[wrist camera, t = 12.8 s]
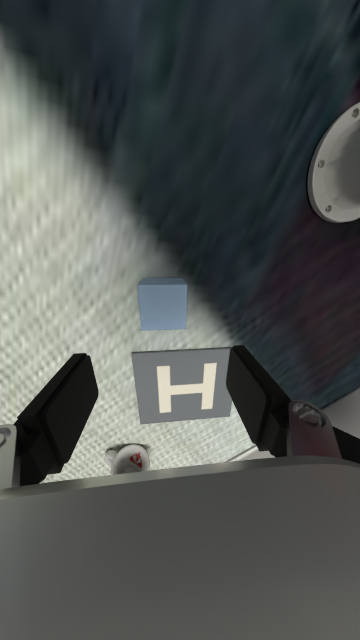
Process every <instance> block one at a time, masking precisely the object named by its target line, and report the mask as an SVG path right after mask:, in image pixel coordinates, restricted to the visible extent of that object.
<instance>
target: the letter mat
mask: <svg viewBox="0 0 360 640" xmlns="http://www.w3.org/2000/svg"><path fill="white" fill-rule="evenodd" d="M231 348H233V347H227V348H207V349H188V350H168V351H148V352H132V362H133V369H134V377H135V385H136V393H137V400H138V408H139V416H140V424H149V423H161V422H172V421H183V420H195V419H206V418H218V417H229V416H230V411H231V405H232V398H231V396H230V394H229V392H228V390H227V387H226V377H227V369H228V361H229V354H230V349H231Z"/></svg>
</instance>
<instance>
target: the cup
mask: <svg viewBox="0 0 360 640" xmlns="http://www.w3.org/2000/svg"><path fill="white" fill-rule="evenodd" d="M105 460H106V463H107V464H108V465H109V466H110V467H111V475H116V474H125V473H134V472H143V471H149V467H150V460H149V456H148V453H147V452H146V450H145V449H144V448H143V447H141V446H139V445H136V444H132V445H128V446H125V447H124V448H122V449H121V450H120V451H119V452H118V453H116V452H115V451H113V450H109V451H108V452H107V453H106V455H105Z"/></svg>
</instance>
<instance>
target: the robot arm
mask: <svg viewBox="0 0 360 640" xmlns="http://www.w3.org/2000/svg"><path fill="white" fill-rule="evenodd" d="M308 195H309V200H310V203H311V205H312V207H313V209H314V211H315V212H316V213H317V215H318V216H320V217H321V218H322V219H324V220H326V221H328V222H333V223H342V222H348V221H353V220H356V219H358V218H360V102H359V103H357V104H356V105H354V106H352V107H351V108H350V109H348V110H347V111H346V112H344V113H343V114H342V115H341V116H339V117H338V118H337V119H336V120H335V121H334V122H333V123H332V124H331V126H330V127H329V128H328V130H327V131H326V132H325V133H324V135H323V136H322V138H321V140H320V142H319V144H318V145H317V147H316V150H315V152H314V155H313V157H312V160H311V164H310V168H309V173H308ZM226 387H227V390H228V392H229V394H230V396H231V398H232V400H233V403H234V405H235V407H236V409H237V411H238V413H239V415H240V418H241V420H242V422H243V424H244V426H245V428H246V430H247V432H248V435H249V437H250V439H251V441H252V442H253V443H254V444H256V445H257V447H258V449H259V451H268V450H269V452H270V453H271V454H272V455H273V458H265V459H253V460H244V461H234V462H225V463H215V464H206V465H197V466H188V467H179V468H170V469H161V470H152V471H143V472H134V473H125V474H116V475H108V476H99V477H91V478H82V479H74V480H65V481H57V482H49V483H43V480H44V479H45V478H46V476H47V474H56V473H60V472H61V470H62V468H63V466H64V464H65V463H67V462H68V461H69V459H70V457H71V455H72V453H73V451H74V449H75V446H76V444H77V442H78V440H79V438H80V435H81V433H82V431H83V429H84V427H85V424H86V422H87V420H88V418H89V416H90V413H91V411H92V409H93V407H94V405H95V402H96V400H97V398H98V387H97V383H96V379H95V375H94V371H93V366H92V362H91V358H90V356H89V355H88V356H87V354H86V353H78V354H73V355H72V356H71V358H70V359H69V360H68V361H67V362H66V363H65V364H64V365H63V367H62V368H61V369H60V370H59V371H58V372H57V373H56V374H55V376H54V377H53V378H52V379H51V380H50V381H49V382H48V383H47V385H46V386H45V387H44V388H43V389H42V390H41V391H40V392H39V394H38V395H37V396H36V397H35V398H34V399H33V400H32V401H31V403H30V404H29V405H28V406H27V407H26V408H25V409H24V410H23V411H22V413H21V414H20V415H19V416H18V417H17V418H18V420H17V421H16V422H15V423H14V425H13V424H4V425H0V640H360V439H359V438H356V437H354V436H352V435H350V434H348V433H346V432H344V431H341V430H339V429H337V428H335V427H333V426H332V425H331V422H330V420H329V418H328V416H327V415H326V414H325V413H324V412H323V411H322V410H320V409H319V408H318V407H316V406H314V405H313V404H310V403H308V402H305V401H301V400H295V401H291V400H290V399H289V397H288V396H287V395H286V394H285V392H284V391H283V390H282V389H281V388H280V387H279V385H278V384H277V383H276V382H275V381H274V380H273V379H272V377H271V376H270V375H269V374H268V373H267V372H266V371H265V369H264V368H263V367H262V366H261V365H260V364H259V363H258V361H257V360H256V359H255V358H254V357H253V356H252V354H251V353H250V352H249V351H248V350H247V349H246V348H245V346H243V345H238V346H233V348H231V349H230V354H229V361H228V369H227V377H226Z"/></svg>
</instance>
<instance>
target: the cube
mask: <svg viewBox="0 0 360 640" xmlns="http://www.w3.org/2000/svg"><path fill="white" fill-rule="evenodd" d="M137 286H138V297H139V308H140V319H141V330H171V329H186V315H187V284H186V282H185V281H184V280H183V278H143V279H142V280H141V281H140V283H139V284H138V285H137Z"/></svg>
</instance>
